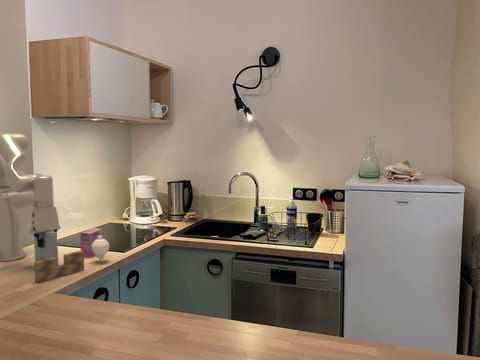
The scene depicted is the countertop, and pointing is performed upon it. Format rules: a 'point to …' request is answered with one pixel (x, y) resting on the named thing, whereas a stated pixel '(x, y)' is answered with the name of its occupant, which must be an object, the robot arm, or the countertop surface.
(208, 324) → the countertop surface
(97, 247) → the spinning top
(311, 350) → the countertop surface
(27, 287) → the countertop surface
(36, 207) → the robot arm
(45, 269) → the walnut slotted plate
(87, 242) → the box
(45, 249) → the grey slotted plate
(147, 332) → the countertop surface
